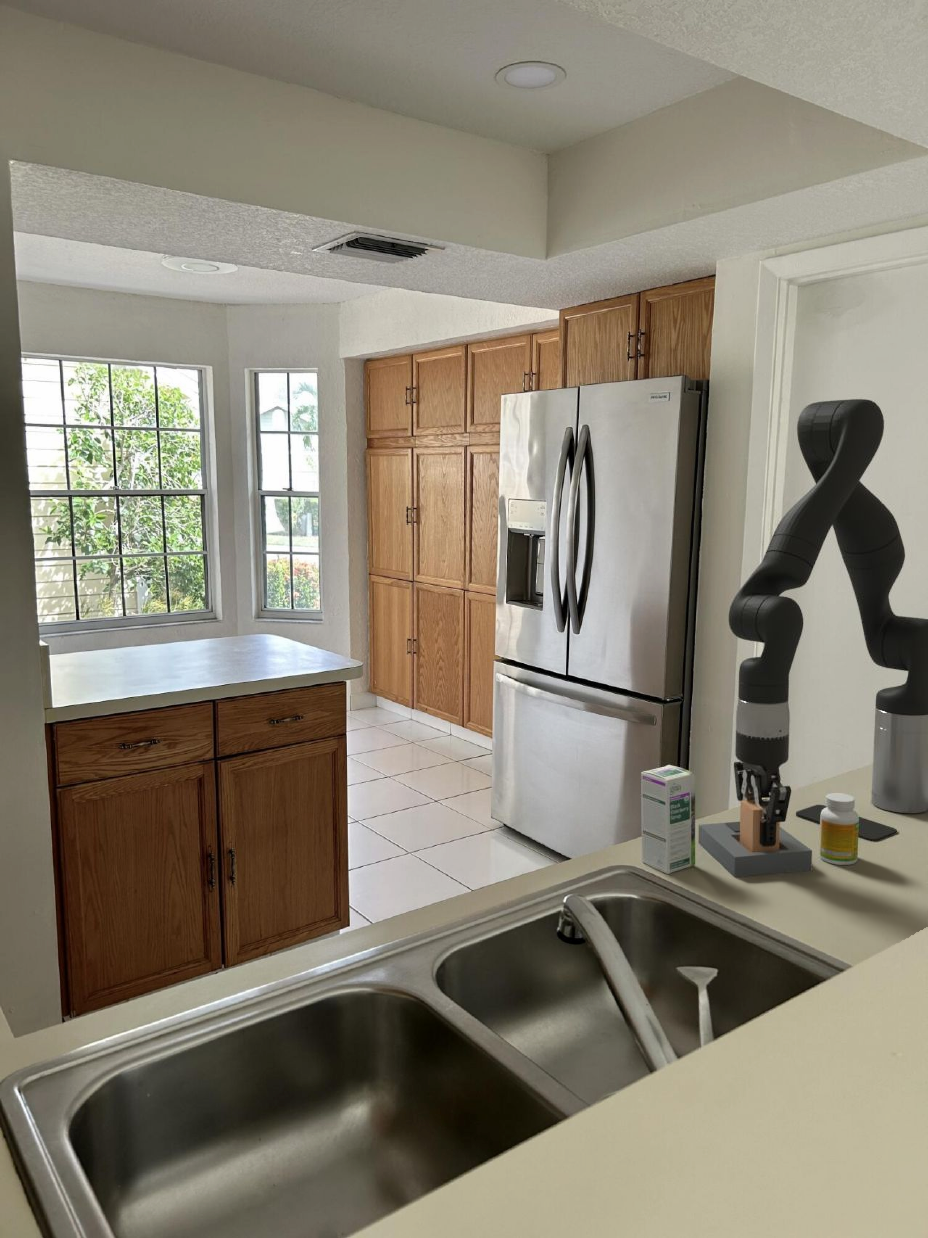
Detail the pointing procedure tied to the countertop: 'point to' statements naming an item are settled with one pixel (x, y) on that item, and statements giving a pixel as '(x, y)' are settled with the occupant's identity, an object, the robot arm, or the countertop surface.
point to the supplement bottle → (839, 830)
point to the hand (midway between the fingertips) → (759, 838)
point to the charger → (753, 828)
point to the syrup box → (668, 818)
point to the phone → (866, 827)
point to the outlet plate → (741, 862)
